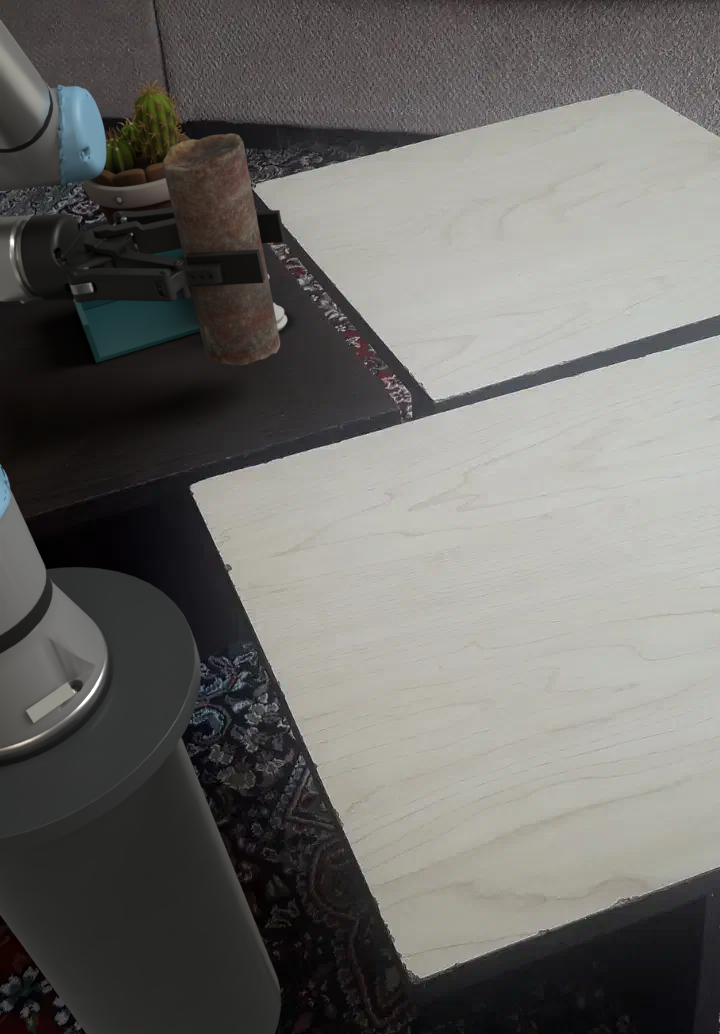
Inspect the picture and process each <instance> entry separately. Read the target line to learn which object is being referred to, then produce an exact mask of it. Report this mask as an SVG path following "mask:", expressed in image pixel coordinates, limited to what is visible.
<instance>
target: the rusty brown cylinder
mask: <svg viewBox="0 0 720 1034" xmlns="http://www.w3.org/2000/svg"><path fill="white" fill-rule="evenodd" d="M163 168H164V173H165V178H166V182H167V186H168V191H169V195H170V199H171V204H172V208H173V212H174V217H175V221H176V225H177V230H178V234H179V239H180V243H181V247H182V251H183V257H184V261H185V264H187V260H186V256H187V254H188V253H202V252H220V251H238V250H257V249H259V251H260V256H261V261H262V265H263V270H264V275H265V281H264V283H253V284H232V285H211V286H193V285H190V286H191V290H192V294H193V295H192V297H193V301H194V306H195V311H196V315H197V319H198V323H199V327H200V332H199V333H200V337H201V341H202V345H203V349H204V353H205V357H206V358H207V359H208V360H209V361H210V362H211V363H213V364H222V365H232V366H241V367H242V366H244V365H249V364H252V363H256V362H258V361H260V360H265V359H267V358H269V357H270V356H272V355H274V354H277V353H278V351H279V349H280V347H281V338H280V334H279V331H278V328H277V322H276V316H275V311H274V305H273V303H274V301H273V296H272V291H271V286H270V278H269V279H268V275H269V273H268V270H267V263H266V259H265V254H264V247H263V243H261V238H260V232H259V227H258V221H257V214H256V211H257V210H256V206H255V200H254V194H253V190H252V189H253V188H252V183H251V178H250V172H249V166H248V159H247V156H246V148H245V144H244V140H243V139H242V138H241V136H240V135H239V134H237V133H226V134H222V133H221V134H213V135H208V136H206V137H202V138H200V139H195V138H193V139H191V138H190V140H188V141H182V142H180V143H178V144H176V145H174V146H171V148H170V150H169V151H168V153H167V156H166V157H165V158H164V161H163Z"/></svg>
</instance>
